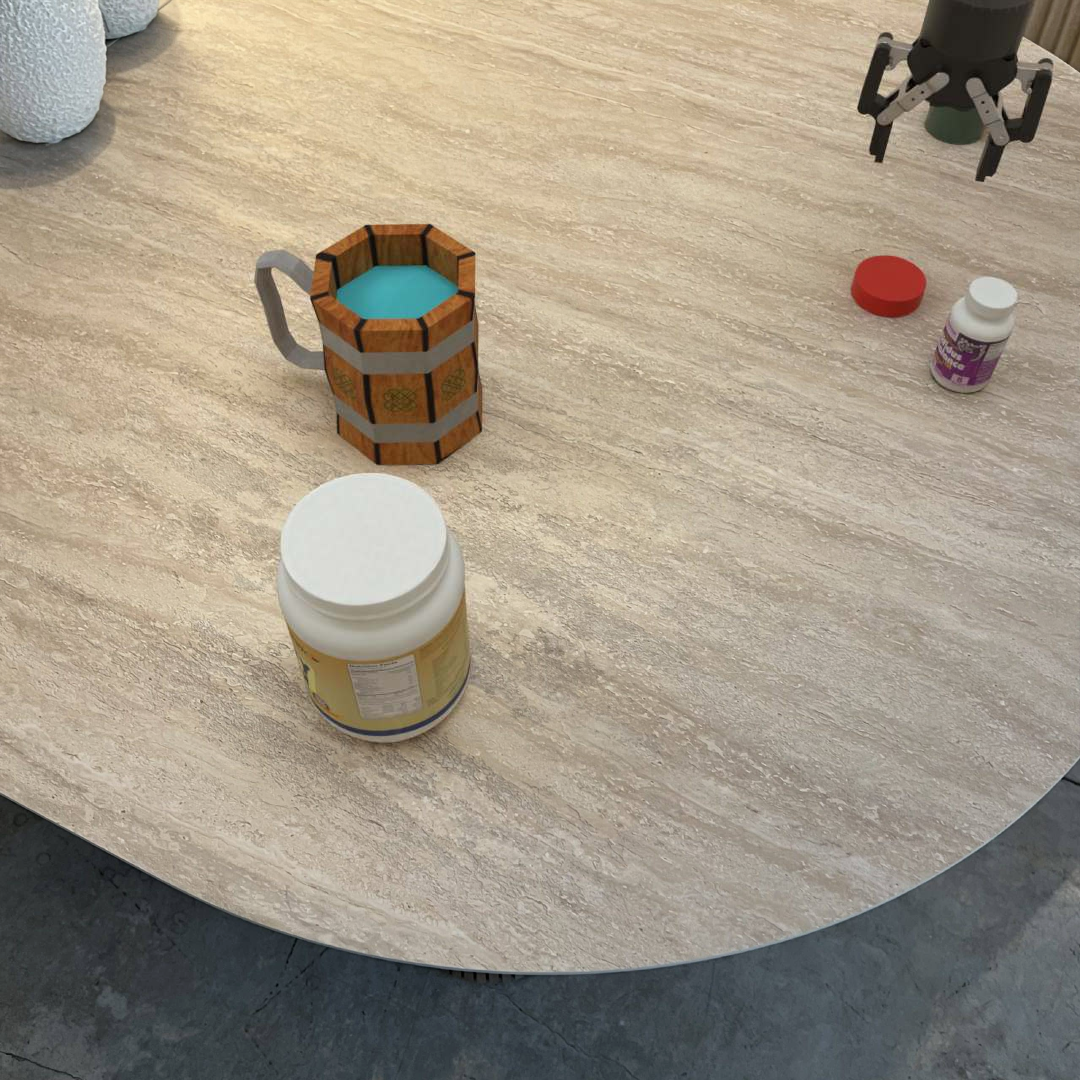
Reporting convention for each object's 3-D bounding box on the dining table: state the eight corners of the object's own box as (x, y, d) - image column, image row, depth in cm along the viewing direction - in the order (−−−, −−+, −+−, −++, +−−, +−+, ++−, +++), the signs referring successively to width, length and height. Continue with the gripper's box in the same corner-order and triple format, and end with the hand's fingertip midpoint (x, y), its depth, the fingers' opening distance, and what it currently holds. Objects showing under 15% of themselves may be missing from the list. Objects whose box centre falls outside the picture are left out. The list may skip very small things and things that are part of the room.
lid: (922, 321, 108) (928, 305, 106) (851, 314, 108) (856, 297, 107) (918, 275, 112) (924, 258, 110) (850, 268, 112) (854, 251, 111)
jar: (977, 111, 129) (1008, 20, 120) (988, 145, 125) (1022, 53, 116) (920, 110, 129) (947, 19, 120) (929, 143, 125) (958, 52, 116)
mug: (511, 379, 103) (508, 243, 91) (450, 487, 95) (439, 354, 83) (315, 324, 107) (288, 188, 95) (242, 424, 99) (203, 288, 87)
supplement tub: (298, 621, 87) (256, 476, 73) (456, 592, 89) (442, 445, 75) (316, 765, 80) (273, 634, 66) (487, 730, 81) (479, 596, 68)
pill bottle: (916, 371, 104) (947, 288, 96) (953, 345, 106) (986, 261, 98) (964, 404, 101) (1000, 322, 93) (1001, 377, 103) (1039, 294, 96)
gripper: (885, -12, 85) (839, 177, 97) (1085, 18, 82) (1011, 208, 95) (898, -58, 89) (852, 128, 102) (1088, -30, 86) (1017, 157, 99)
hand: (929, 167), depth 98 cm, fingers open, 8 cm apart
